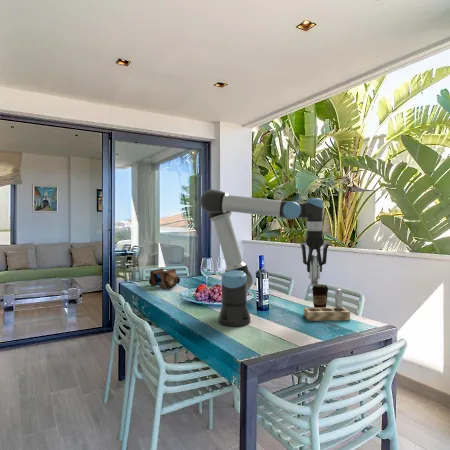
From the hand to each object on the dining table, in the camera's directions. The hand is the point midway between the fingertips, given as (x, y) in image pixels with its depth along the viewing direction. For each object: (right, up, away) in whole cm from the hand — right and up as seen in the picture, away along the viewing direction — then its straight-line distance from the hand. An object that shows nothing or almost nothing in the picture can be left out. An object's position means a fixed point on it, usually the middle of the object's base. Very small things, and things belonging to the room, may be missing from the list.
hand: (314, 278), depth 167 cm
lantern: (-85, -18, +77) cm, 115 cm away
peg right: (+12, -19, +1) cm, 23 cm away
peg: (0, -3, 0) cm, 3 cm away
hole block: (+6, -19, +1) cm, 20 cm away
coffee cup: (+7, -19, +15) cm, 25 cm away
